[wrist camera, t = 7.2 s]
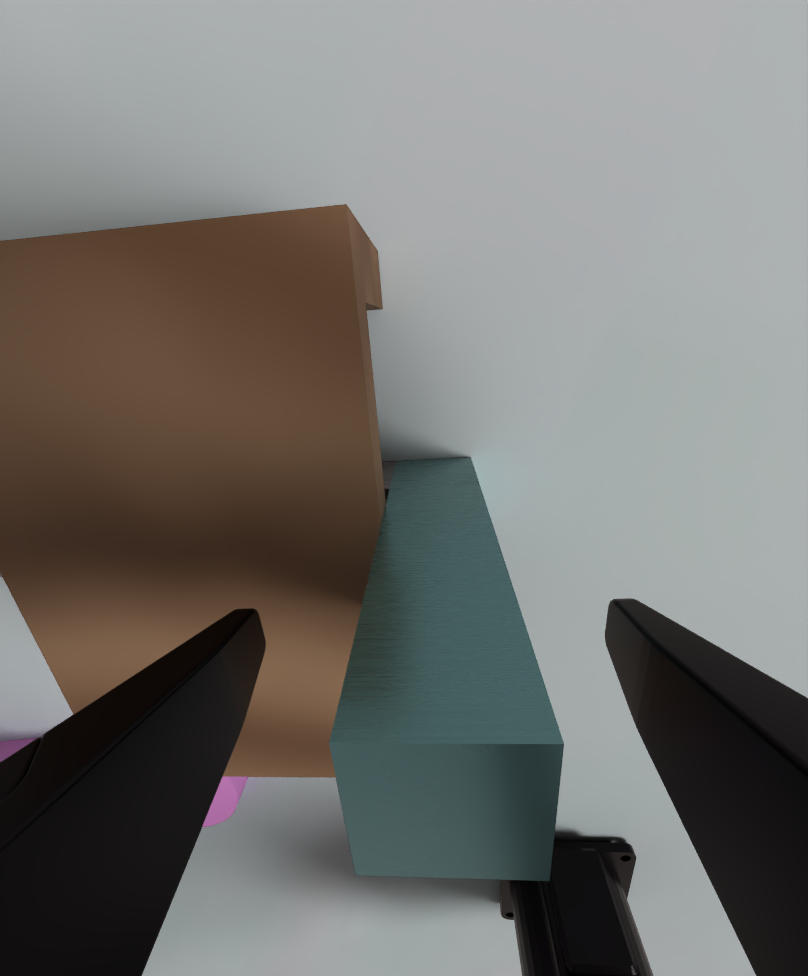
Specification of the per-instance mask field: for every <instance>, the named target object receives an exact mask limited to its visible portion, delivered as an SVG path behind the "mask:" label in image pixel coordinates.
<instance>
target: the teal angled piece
mask: <svg viewBox="0 0 808 976" xmlns="http://www.w3.org/2000/svg"><path fill="white" fill-rule="evenodd" d="M382 471H383V481H384V491H385V501H386V506H385V510H384V515H383V519H382V523H381V527H380V531H379V536H378V540H377V544H376V548H375V552H374V557H373V561H372V565H371V569H370V573H369V578H368V582H367V586H366V590H365V594H364V599H363V603H362V607H361V611H360V615H359V620H358V624H357V628H356V632H355V636H354V640H353V645H352V649H351V653H350V657H349V661H348V666H347V670H346V674H345V678H344V682H343V687H342V691H341V695H340V699H339V703H338V708H337V712H336V716H335V720H334V724H333V729H332V733H331V737H330V741H329V746H330V751H331V756H332V761H333V766H334V771H335V776H336V781H337V786H338V791H339V796H340V801H341V806H342V811H343V816H344V821H345V826H346V831H347V836H348V841H349V846H350V851H351V856H352V861H353V866H354V871H355V875H359V876H393V877H428V878H462V879H496V880H530V881H550V872H551V862H552V853H553V843H554V834H555V824H556V815H557V805H558V796H559V786H560V776H561V767H562V757H563V748H564V743H563V740H562V737H561V734H560V731H559V727H558V724H557V721H556V718H555V715H554V712H553V709H552V706H551V703H550V700H549V697H548V694H547V691H546V687H545V684H544V681H543V678H542V675H541V672H540V669H539V666H538V663H537V660H536V657H535V654H534V650H533V647H532V644H531V641H530V638H529V635H528V632H527V629H526V626H525V623H524V620H523V617H522V614H521V610H520V607H519V604H518V601H517V598H516V595H515V592H514V589H513V586H512V583H511V580H510V577H509V573H508V570H507V567H506V564H505V561H504V558H503V555H502V552H501V549H500V546H499V543H498V540H497V536H496V533H495V530H494V527H493V524H492V521H491V518H490V515H489V512H488V509H487V506H486V503H485V500H484V496H483V493H482V490H481V487H480V484H479V481H478V478H477V475H476V472H475V469H474V466H473V463H472V459H471V457H466V458H446V459H427V460H407V461H388V462H382Z"/></svg>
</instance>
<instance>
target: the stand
mask: <svg viewBox="0 0 808 976" xmlns="http://www.w3.org/2000/svg"><path fill="white" fill-rule="evenodd" d="M376 309H383V307H382V295H381V284H380V272H379V261H378V251H377V249H376V248H375V246H374V245H373V243H372V242H371V240H370V239H369V237H368V236H367V234H366V233H365V231H364V230H363V228H362V227H361V225H360V224H359V222H358V221H357V219H356V218H355V216H354V215H353V213H352V212H351V210H350V209H349V208H348V206H347V205H346V204H344V205H335V206H325V207H316V208H307V209H297V210H288V211H278V212H269V213H260V214H250V215H241V216H231V217H222V218H213V219H203V220H194V221H184V222H175V223H166V224H156V225H147V226H137V227H128V228H119V229H109V230H100V231H90V232H81V233H72V234H62V235H53V236H43V237H34V238H25V239H15V240H6V241H0V573H1V575H2V577H3V579H4V581H5V583H6V584H7V586H8V588H9V590H10V592H11V594H12V596H13V598H14V600H15V602H16V604H17V606H18V608H19V610H20V612H21V614H22V615H23V617H24V619H25V621H26V623H27V625H28V627H29V629H30V631H31V633H32V635H33V637H34V639H35V641H36V643H37V644H38V646H39V648H40V650H41V652H42V654H43V656H44V658H45V660H46V662H47V664H48V666H49V668H50V670H51V672H52V674H53V675H54V677H55V679H56V681H57V683H58V685H59V687H60V689H61V691H62V693H63V695H64V697H65V699H66V701H67V703H68V704H69V706H70V708H71V710H72V712H73V714H75V713H77V712H78V711H80V710H81V709H83V708H84V707H86V706H87V705H89V704H90V703H92V702H94V701H95V700H97V699H98V698H100V697H101V696H103V695H104V694H106V693H107V692H109V691H110V690H112V689H114V688H115V687H117V686H118V685H120V684H121V683H123V682H124V681H126V680H127V679H129V678H130V677H132V676H133V675H135V674H137V673H138V672H140V671H141V670H143V669H144V668H146V667H147V666H149V665H150V664H152V663H153V662H155V661H156V660H158V659H160V658H161V657H163V656H164V655H166V654H167V653H169V652H170V651H172V650H173V649H175V648H176V647H178V646H180V645H181V644H183V643H184V642H186V641H187V640H189V639H190V638H192V637H193V636H195V635H196V634H198V633H199V632H201V631H203V630H204V629H206V628H207V627H209V626H210V625H212V624H213V623H215V622H216V621H218V620H219V619H221V618H222V617H224V616H226V615H227V614H229V613H230V612H232V611H233V610H235V609H243V608H254V609H256V610H257V611H258V613H259V616H260V620H261V624H262V628H263V632H264V636H265V640H266V649H265V654H264V657H263V660H262V664H261V667H260V671H259V674H258V677H257V681H256V684H255V688H254V691H253V694H252V698H251V701H250V705H249V708H248V711H247V715H246V718H245V721H244V724H243V727H242V730H241V732H240V735H239V737H238V740H237V742H236V745H235V747H234V750H233V752H232V755H231V757H230V760H229V762H228V765H227V767H226V770H225V772H224V774H223V777H336V776H335V771H334V766H333V761H332V756H331V751H330V746H329V741H330V737H331V733H332V729H333V724H334V720H335V716H336V712H337V708H338V703H339V699H340V695H341V691H342V687H343V682H344V678H345V674H346V670H347V666H348V661H349V657H350V653H351V649H352V645H353V640H354V636H355V632H356V628H357V624H358V620H359V615H360V611H361V607H362V603H363V599H364V594H365V590H366V586H367V582H368V578H369V573H370V569H371V565H372V561H373V557H374V552H375V548H376V544H377V540H378V536H379V531H380V527H381V523H382V519H383V515H384V510H385V506H386V501H385V491H384V481H383V471H382V461H381V451H380V441H379V431H378V421H377V411H376V401H375V391H374V381H373V371H372V361H371V351H370V341H369V331H368V321H367V311H366V310H376Z"/></svg>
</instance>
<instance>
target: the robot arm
mask: <svg viewBox="0 0 808 976" xmlns="http://www.w3.org/2000/svg"><path fill="white" fill-rule="evenodd" d="M605 641H606V646H607V649H608V651H609V654H610V657H611V660H612V662H613V665H614V668H615V671H616V673H617V676H618V679H619V682H620V684H621V687H622V690H623V693H624V695H625V698H626V701H627V704H628V706H629V709H630V712H631V715H632V717H633V720H634V722H635V725H636V727H637V729H638V732H639V734H640V736H641V738H642V740H643V742H644V744H645V747H646V749H647V751H648V753H649V755H650V757H651V759H652V761H653V763H654V765H655V767H656V769H657V771H658V773H659V775H660V778H661V780H662V782H663V784H664V786H665V788H666V790H667V792H668V794H669V796H670V798H671V800H672V802H673V804H674V806H675V809H676V811H677V813H678V815H679V817H680V819H681V821H682V823H683V825H684V827H685V829H686V831H687V833H688V835H689V837H690V840H691V842H692V844H693V846H694V848H695V850H696V852H697V854H698V856H699V858H700V860H701V862H702V864H703V866H704V868H705V871H706V873H707V875H708V877H709V879H710V881H711V883H712V885H713V887H714V889H715V891H716V893H717V895H718V897H719V899H720V902H721V904H722V906H723V908H724V910H725V912H726V914H727V916H728V918H729V920H730V922H731V924H732V926H733V928H734V930H735V933H736V935H737V937H738V939H739V941H740V943H741V945H742V947H743V949H744V951H745V953H746V955H747V957H748V959H749V961H750V964H751V966H752V968H753V970H754V972H755V974H756V976H808V698H807V697H805V696H803V695H801V694H800V693H798V692H796V691H794V690H793V689H791V688H789V687H787V686H786V685H784V684H782V683H780V682H779V681H777V680H775V679H774V678H772V677H770V676H768V675H767V674H765V673H763V672H761V671H760V670H758V669H756V668H754V667H753V666H751V665H749V664H747V663H746V662H744V661H742V660H740V659H739V658H737V657H735V656H733V655H732V654H730V653H728V652H726V651H725V650H723V649H721V648H719V647H718V646H716V645H714V644H713V643H711V642H709V641H707V640H706V639H704V638H702V637H700V636H699V635H697V634H695V633H693V632H692V631H690V630H688V629H686V628H685V627H683V626H681V625H679V624H678V623H676V622H674V621H672V620H671V619H669V618H667V617H665V616H664V615H662V614H660V613H658V612H657V611H655V610H653V609H652V608H650V607H648V606H646V605H645V604H643V603H641V602H639V601H637V600H635V599H613V600H612V601H610V603H609V607H608V614H607V622H606V629H605ZM265 649H266V640H265V636H264V632H263V628H262V624H261V620H260V616H259V613H258V611H257V610H256V609H254V608H243V609H235V610H233V611H232V612H230V613H229V614H227V615H226V616H224V617H222V618H221V619H219V620H218V621H216V622H215V623H213V624H212V625H210V626H209V627H207V628H206V629H204V630H203V631H201V632H199V633H198V634H196V635H195V636H193V637H192V638H190V639H189V640H187V641H186V642H184V643H183V644H181V645H180V646H178V647H176V648H175V649H173V650H172V651H170V652H169V653H167V654H166V655H164V656H163V657H161V658H160V659H158V660H156V661H155V662H153V663H152V664H150V665H149V666H147V667H146V668H144V669H143V670H141V671H140V672H138V673H137V674H135V675H133V676H132V677H130V678H129V679H127V680H126V681H124V682H123V683H121V684H120V685H118V686H117V687H115V688H114V689H112V690H110V691H109V692H107V693H106V694H104V695H103V696H101V697H100V698H98V699H97V700H95V701H94V702H92V703H90V704H89V705H87V706H86V707H84V708H83V709H81V710H80V711H78V712H77V713H75V714H74V715H72V716H71V717H69V718H67V719H66V720H64V721H63V722H61V723H60V724H58V725H57V726H55V727H54V728H52V729H51V730H49V731H48V732H46V733H45V734H44V735H43V737H42V738H37V739H35V740H33V741H32V742H30V743H29V744H27V745H26V746H24V747H23V748H21V749H20V750H18V751H17V752H15V753H14V754H12V755H11V756H9V757H8V758H6V759H4V760H3V761H1V762H0V976H142V974H143V971H144V969H145V966H146V964H147V961H148V959H149V956H150V954H151V951H152V949H153V947H154V944H155V942H156V939H157V937H158V934H159V932H160V929H161V927H162V924H163V922H164V919H165V917H166V915H167V912H168V910H169V907H170V905H171V902H172V900H173V897H174V895H175V892H176V890H177V888H178V885H179V883H180V880H181V878H182V875H183V873H184V870H185V868H186V865H187V863H188V860H189V858H190V856H191V853H192V851H193V848H194V846H195V843H196V841H197V838H198V836H199V833H200V831H201V829H202V826H203V824H204V821H205V819H206V816H207V814H208V811H209V809H210V806H211V804H212V801H213V799H214V797H215V794H216V792H217V789H218V787H219V784H220V782H221V779H222V777H223V774H224V772H225V770H226V767H227V765H228V762H229V760H230V757H231V755H232V752H233V750H234V747H235V745H236V742H237V740H238V737H239V735H240V732H241V730H242V727H243V724H244V721H245V718H246V715H247V711H248V708H249V705H250V701H251V698H252V694H253V691H254V688H255V684H256V681H257V677H258V674H259V671H260V667H261V664H262V660H263V657H264V654H265ZM635 861H636V855H635V853H634V850H633V848H632V846H631V845H630V844H628V843H610V842H559V841H554V843H553V853H552V862H551V872H550V881H530V880H501V884H500V909H501V915H502V917H503V918H505V919H509V920H514V922H515V929H516V936H517V942H518V949H519V956H520V963H521V970H522V976H653V973H652V970H651V968H650V965H649V962H648V959H647V956H646V953H645V950H644V947H643V945H642V942H641V939H640V936H639V933H638V930H637V927H636V924H635V921H634V919H633V916H632V913H631V910H630V907H629V904H628V901H627V897H628V892H629V888H630V883H631V879H632V875H633V870H634V866H635Z"/></svg>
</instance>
